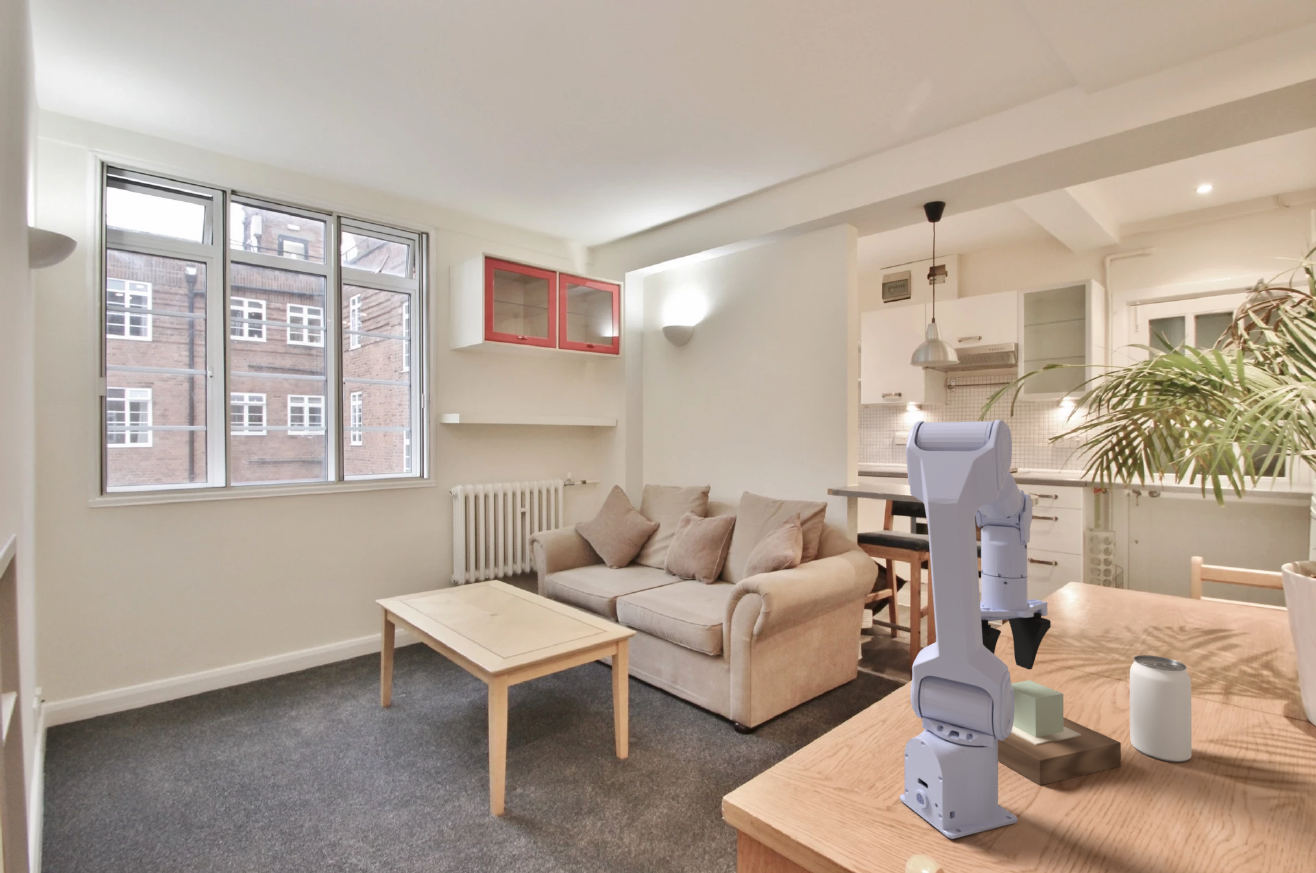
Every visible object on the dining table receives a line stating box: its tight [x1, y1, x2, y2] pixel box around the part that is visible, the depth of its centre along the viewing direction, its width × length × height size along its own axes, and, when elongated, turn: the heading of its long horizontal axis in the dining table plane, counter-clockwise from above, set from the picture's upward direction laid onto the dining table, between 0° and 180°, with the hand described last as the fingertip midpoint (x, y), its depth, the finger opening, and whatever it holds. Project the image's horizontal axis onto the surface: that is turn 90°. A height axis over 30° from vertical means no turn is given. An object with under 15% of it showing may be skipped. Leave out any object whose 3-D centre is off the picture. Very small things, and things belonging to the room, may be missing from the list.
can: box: [1129, 654, 1193, 763], centre depth 84 cm, size 6×6×12 cm
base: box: [998, 716, 1122, 786], centre depth 85 cm, size 14×14×3 cm
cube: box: [1011, 679, 1064, 737], centre depth 85 cm, size 5×5×5 cm
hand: (1004, 670), depth 88 cm, fingers open, 7 cm apart
